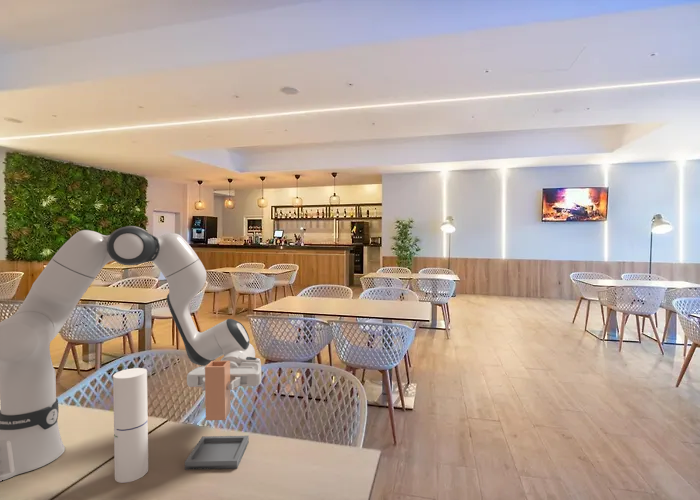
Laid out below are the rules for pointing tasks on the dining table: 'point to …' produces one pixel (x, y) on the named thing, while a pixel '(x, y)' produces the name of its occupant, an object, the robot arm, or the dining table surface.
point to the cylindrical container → (130, 424)
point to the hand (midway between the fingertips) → (217, 387)
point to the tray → (217, 452)
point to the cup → (217, 390)
